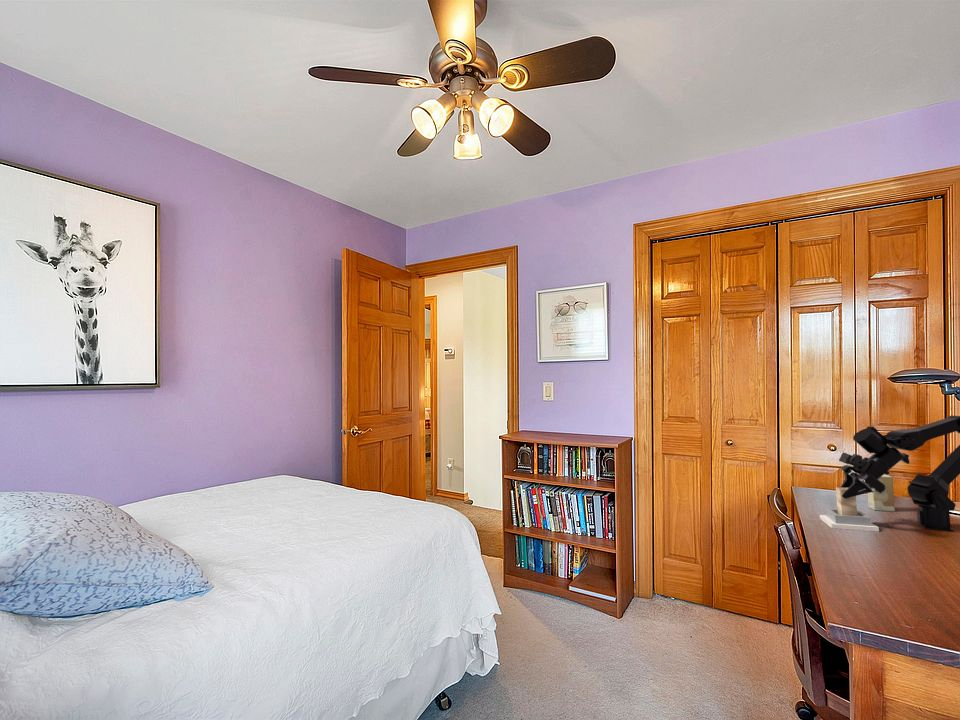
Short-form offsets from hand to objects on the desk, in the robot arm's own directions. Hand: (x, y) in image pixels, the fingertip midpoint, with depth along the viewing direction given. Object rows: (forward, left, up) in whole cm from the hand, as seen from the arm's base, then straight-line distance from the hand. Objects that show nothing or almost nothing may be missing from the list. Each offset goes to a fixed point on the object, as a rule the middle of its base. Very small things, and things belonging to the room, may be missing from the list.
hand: (840, 495), depth 149 cm
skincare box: (-16, -27, -9) cm, 33 cm away
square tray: (-1, 0, -9) cm, 9 cm away
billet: (-1, 0, -7) cm, 7 cm away
